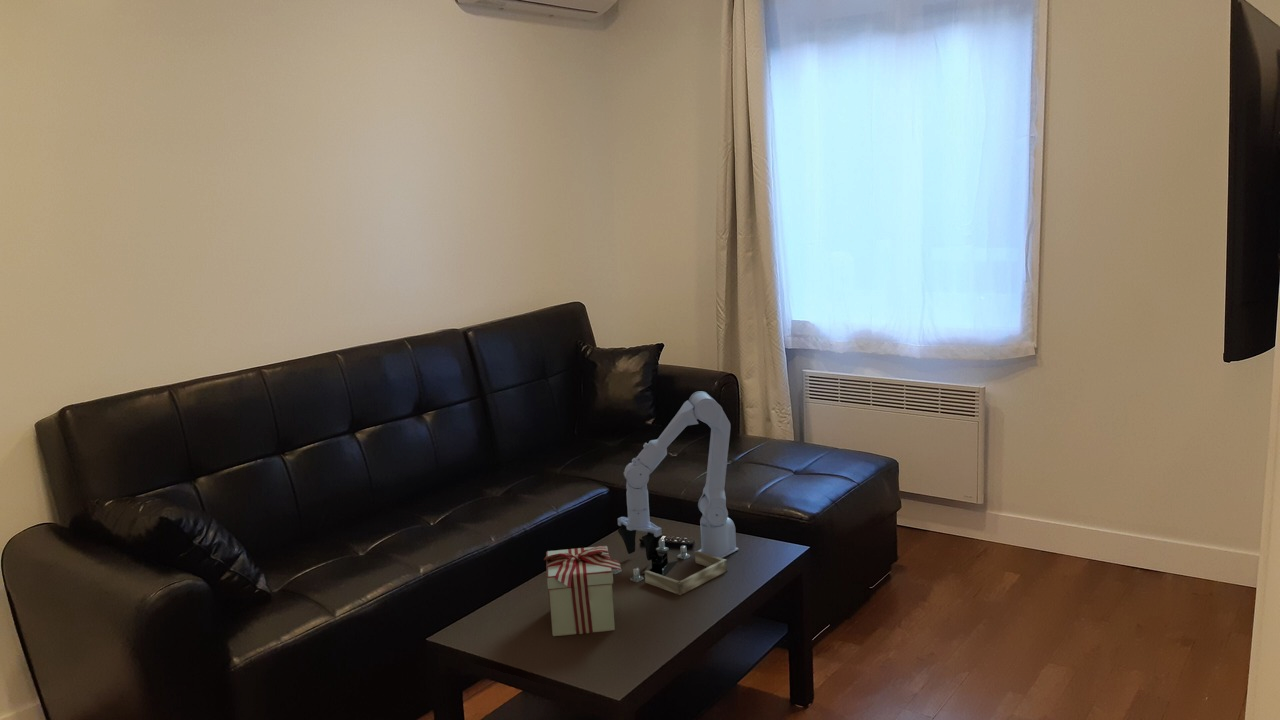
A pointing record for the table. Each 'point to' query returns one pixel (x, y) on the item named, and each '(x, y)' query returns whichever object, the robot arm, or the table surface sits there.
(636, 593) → the table surface
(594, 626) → the gift box
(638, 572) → the guide pins
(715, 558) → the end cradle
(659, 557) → the black boxy piece
